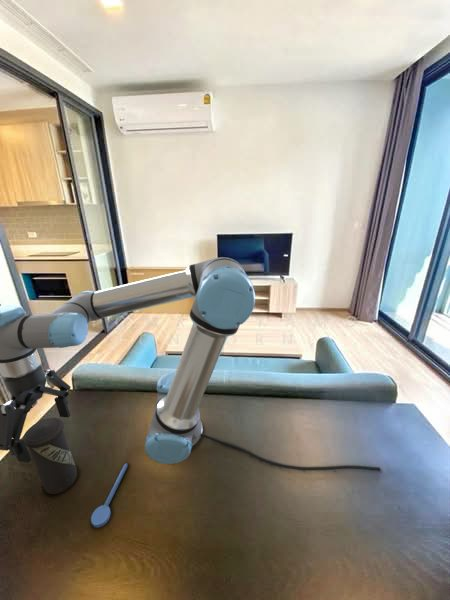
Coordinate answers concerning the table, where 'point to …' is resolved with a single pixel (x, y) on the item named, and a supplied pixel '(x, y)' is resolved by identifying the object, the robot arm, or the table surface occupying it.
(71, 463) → the container
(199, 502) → the table surface
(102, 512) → the spoon
